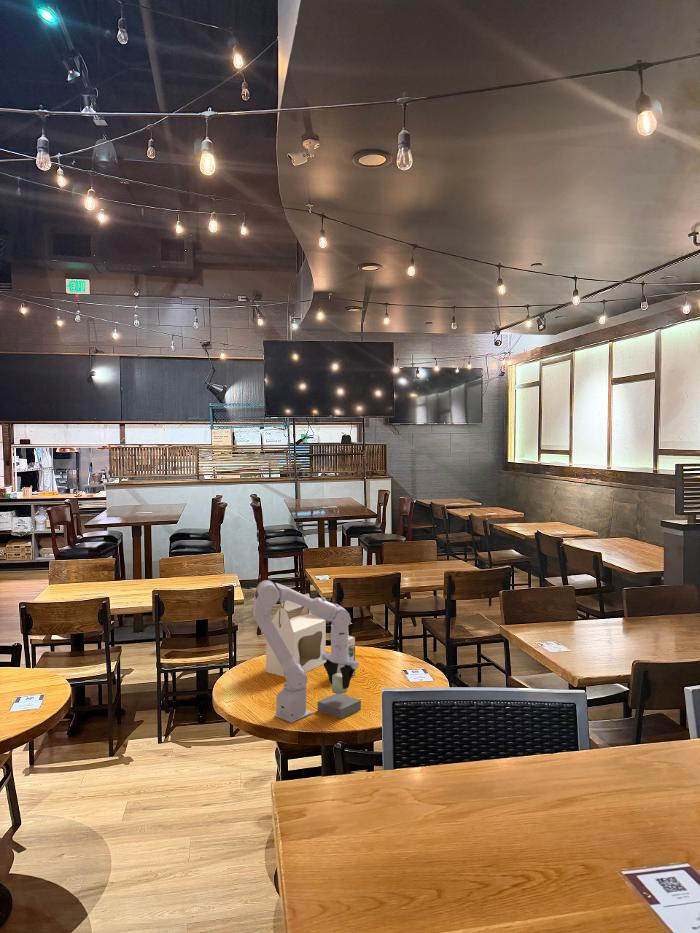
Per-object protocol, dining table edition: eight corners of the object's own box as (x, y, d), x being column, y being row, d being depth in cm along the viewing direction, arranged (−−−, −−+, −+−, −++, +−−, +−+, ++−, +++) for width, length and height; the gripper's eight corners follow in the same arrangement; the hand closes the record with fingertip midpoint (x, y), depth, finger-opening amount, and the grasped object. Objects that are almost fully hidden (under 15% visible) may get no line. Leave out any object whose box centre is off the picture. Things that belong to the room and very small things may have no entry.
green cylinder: (340, 695, 198) (340, 679, 197) (328, 691, 201) (329, 675, 201) (350, 690, 201) (350, 675, 201) (339, 687, 205) (339, 672, 205)
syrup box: (346, 679, 230) (346, 640, 230) (333, 675, 233) (334, 637, 233) (355, 674, 234) (355, 636, 234) (343, 671, 238) (343, 634, 238)
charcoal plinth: (340, 719, 194) (340, 709, 194) (317, 710, 200) (317, 701, 200) (360, 709, 202) (360, 700, 201) (338, 701, 208) (338, 692, 208)
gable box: (299, 657, 255) (300, 589, 255) (326, 662, 248) (326, 593, 248) (265, 672, 236) (265, 600, 236) (292, 679, 229) (293, 604, 229)
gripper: (364, 646, 199) (364, 687, 199) (331, 637, 209) (331, 677, 209) (350, 651, 194) (350, 694, 194) (317, 642, 203) (316, 683, 203)
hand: (339, 685), depth 201 cm, fingers closed on green cylinder, 5 cm apart
